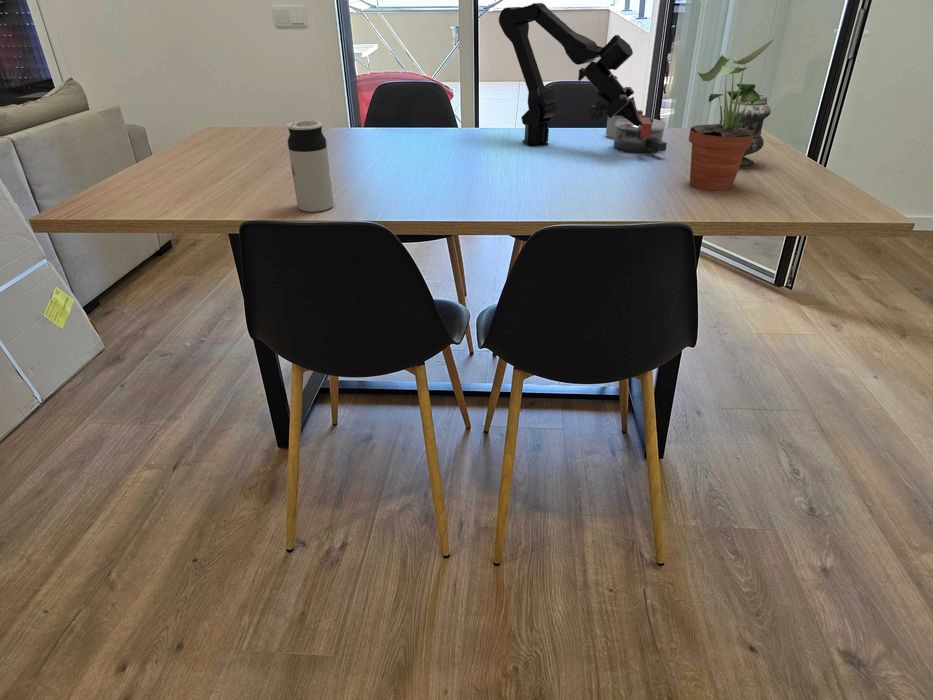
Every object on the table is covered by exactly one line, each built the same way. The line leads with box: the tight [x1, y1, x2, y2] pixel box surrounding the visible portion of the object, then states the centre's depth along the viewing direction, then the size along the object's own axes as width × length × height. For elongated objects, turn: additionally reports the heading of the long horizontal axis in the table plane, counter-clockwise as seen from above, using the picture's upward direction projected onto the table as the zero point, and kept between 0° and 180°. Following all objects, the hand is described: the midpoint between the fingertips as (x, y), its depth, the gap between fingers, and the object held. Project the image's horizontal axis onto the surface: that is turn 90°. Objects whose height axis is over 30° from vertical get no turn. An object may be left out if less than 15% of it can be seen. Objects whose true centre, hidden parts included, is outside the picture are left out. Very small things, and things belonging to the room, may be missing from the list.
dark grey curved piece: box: [613, 127, 668, 155], centre depth 179 cm, size 14×24×6 cm, turn 14°
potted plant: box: [688, 38, 775, 192], centre depth 141 cm, size 16×15×35 cm
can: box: [605, 97, 632, 140], centre depth 192 cm, size 8×8×12 cm
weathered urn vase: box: [722, 92, 772, 169], centre depth 163 cm, size 12×12×18 cm
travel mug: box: [286, 119, 334, 213], centre depth 131 cm, size 8×8×18 cm
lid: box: [615, 109, 666, 138], centre depth 176 cm, size 14×25×4 cm, turn 172°
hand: (638, 125), depth 169 cm, fingers closed
